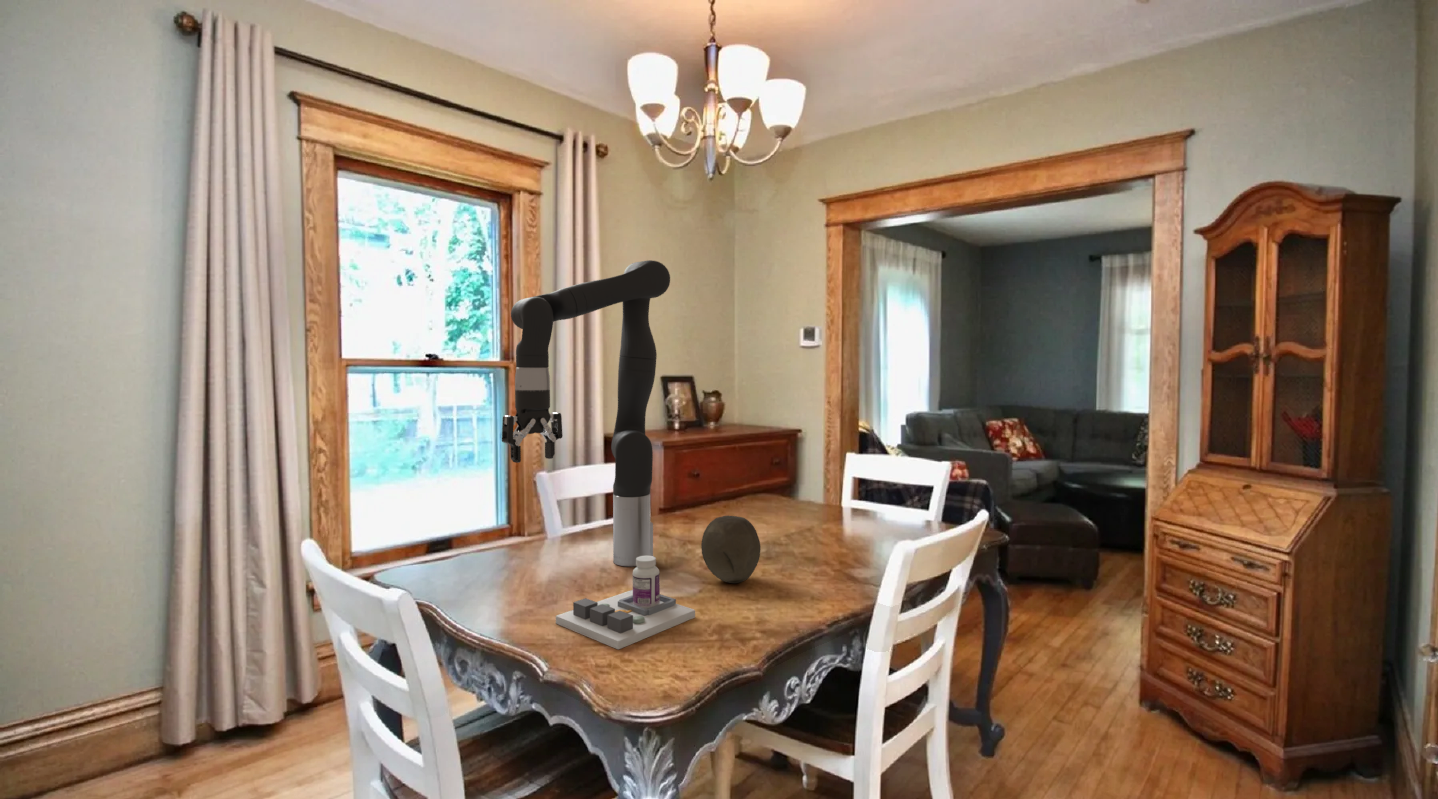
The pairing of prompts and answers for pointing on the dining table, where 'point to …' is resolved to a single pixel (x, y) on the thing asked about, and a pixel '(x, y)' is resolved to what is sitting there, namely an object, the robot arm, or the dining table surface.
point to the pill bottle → (646, 582)
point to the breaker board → (629, 635)
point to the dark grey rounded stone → (731, 548)
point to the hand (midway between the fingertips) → (533, 460)
